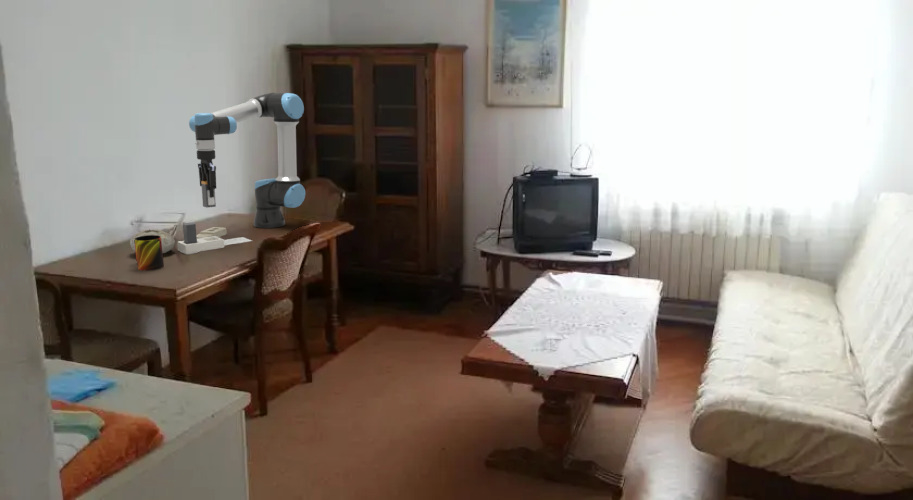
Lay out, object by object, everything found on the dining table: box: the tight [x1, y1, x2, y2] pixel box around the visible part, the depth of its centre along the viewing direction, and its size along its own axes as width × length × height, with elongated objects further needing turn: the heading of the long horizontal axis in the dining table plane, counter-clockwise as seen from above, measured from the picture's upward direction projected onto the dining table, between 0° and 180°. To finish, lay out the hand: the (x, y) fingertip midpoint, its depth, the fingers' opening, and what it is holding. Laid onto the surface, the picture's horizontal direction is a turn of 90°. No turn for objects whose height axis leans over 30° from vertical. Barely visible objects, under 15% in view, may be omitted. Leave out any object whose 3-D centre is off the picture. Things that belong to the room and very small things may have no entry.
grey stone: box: [129, 228, 176, 254], centre depth 330 cm, size 18×18×10 cm
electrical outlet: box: [196, 226, 228, 239], centre depth 357 cm, size 7×4×18 cm
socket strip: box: [177, 220, 225, 256], centre depth 336 cm, size 17×9×13 cm, turn 131°
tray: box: [224, 236, 253, 246], centre depth 351 cm, size 14×10×1 cm
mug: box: [134, 235, 165, 271], centre depth 308 cm, size 10×14×12 cm
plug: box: [201, 181, 217, 208], centre depth 336 cm, size 4×4×11 cm
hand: (209, 203), depth 337 cm, fingers closed on plug, 4 cm apart
